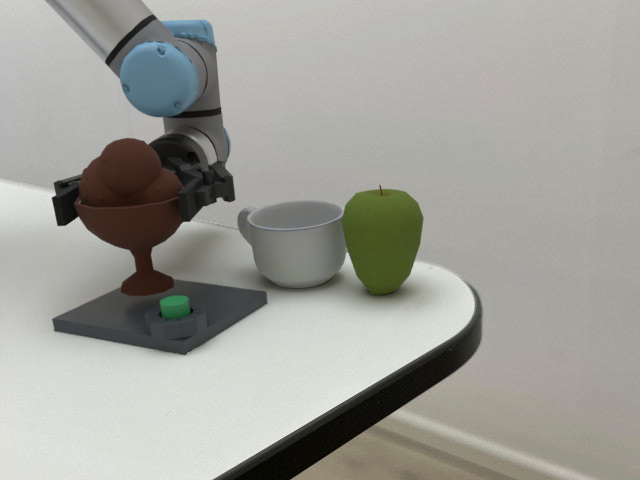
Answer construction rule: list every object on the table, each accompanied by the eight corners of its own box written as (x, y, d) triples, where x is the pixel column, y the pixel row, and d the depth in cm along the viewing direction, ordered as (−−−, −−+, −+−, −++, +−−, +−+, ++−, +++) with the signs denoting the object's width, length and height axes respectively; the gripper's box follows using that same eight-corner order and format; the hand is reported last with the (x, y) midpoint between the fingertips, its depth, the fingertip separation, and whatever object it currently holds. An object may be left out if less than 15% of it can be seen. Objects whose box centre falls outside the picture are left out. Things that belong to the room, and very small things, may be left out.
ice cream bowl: (221, 275, 81) (203, 129, 75) (154, 311, 72) (127, 148, 66) (142, 265, 85) (118, 126, 79) (69, 299, 76) (36, 144, 70)
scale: (52, 332, 75) (46, 304, 74) (147, 286, 87) (143, 261, 86) (185, 357, 69) (181, 326, 67) (269, 304, 80) (267, 277, 79)
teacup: (368, 277, 87) (365, 207, 83) (294, 303, 80) (288, 229, 77) (290, 254, 96) (284, 191, 93) (218, 276, 89) (209, 208, 86)
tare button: (156, 318, 70) (153, 303, 70) (174, 309, 72) (171, 293, 72) (179, 322, 69) (176, 306, 69) (196, 312, 71) (194, 297, 71)
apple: (397, 311, 77) (396, 197, 72) (328, 298, 81) (322, 189, 76) (437, 285, 84) (438, 179, 79) (371, 274, 88) (368, 173, 83)
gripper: (279, 193, 92) (250, 244, 72) (87, 199, 93) (6, 252, 73) (273, 128, 89) (241, 164, 69) (75, 136, 90) (-13, 173, 70)
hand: (120, 209), depth 71 cm, fingers closed on ice cream bowl, 11 cm apart
